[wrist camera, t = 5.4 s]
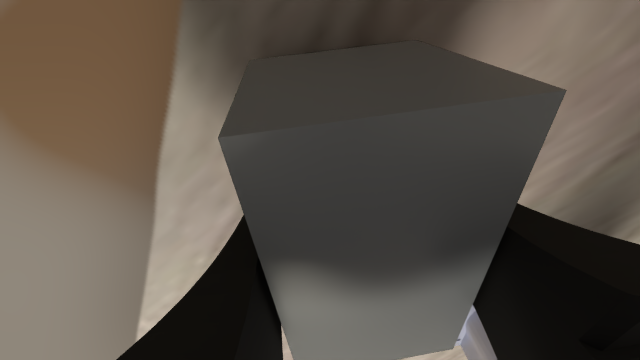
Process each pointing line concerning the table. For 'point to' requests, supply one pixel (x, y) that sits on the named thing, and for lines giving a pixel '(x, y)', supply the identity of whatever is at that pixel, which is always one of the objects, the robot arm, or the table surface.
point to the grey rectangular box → (380, 189)
